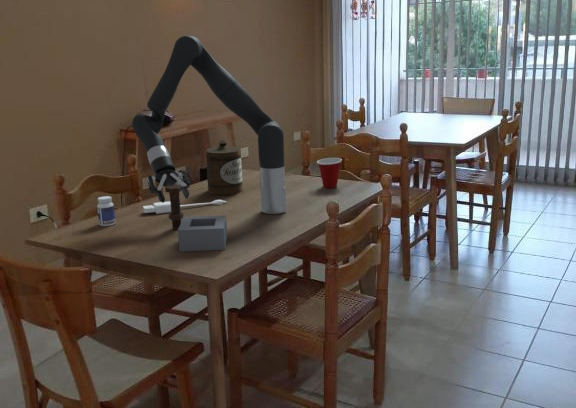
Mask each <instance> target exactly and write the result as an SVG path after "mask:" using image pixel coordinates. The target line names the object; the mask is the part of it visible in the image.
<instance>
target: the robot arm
mask: <svg viewBox="0 0 576 408" xmlns="http://www.w3.org/2000/svg"><path fill="white" fill-rule="evenodd" d="M190 66H191V67H192V68H193V69H194V70H195V71H196V72H197V73H198V74H200V75H201V77H202V78H203V79H204V81H205V82H206V84H207V86H208V87H209V88H210V90H211V91H212V92H213V94H214V95H215V97H216V98H218V100H219V101H221V103H222V104H223V105H224V106H225V107H226V108H227V109H228V110H229V111H230V112H232V113H233V114H235V115H236V116H238V118H240V119H242V120H243V121H244V122H245V123H246V124H248V126H249V127H251V129H252V130H253V131H254V133H255V134H256V135H257V147H258V149H257V151H258V161H259V162H258V164H259V182H260V183H259V184H260V185H259V186H260V187H259V188H260V190H259V191H260V208H261V209H260V210H261V213H264V214H267V215H277V214H281V213H286V212H287V204H286V203H287V202H286V201H287V200H286V179H285V178H286V175H285V149H284V148H285V147H284V145H285V141H284V134H285V133H284V130H283V128H282V126H281V125H280V124H279V123H278V122H277V121H275V120H274V119H272V117H271V116H269V115H268V114H267V113H266V112H265V111H264V110H263V109H262V108H261V107H260V106H259V105H258V104H257V102H256V100H255V99H254V98H253V97H252V95H251V94H250V93H248V91H247V90H246V89H245V88H244V86H242V85H241V83H240V82H239V81H238V80H237V79H236V78H235V77H234V76H233V75H232V74H231V73H230V72H228V70H227V69H225V68H224V67H222V66H221V65H220V64H219V62H218V61H216V60H215V59H214V58H213V56H212V55H211V54H210V52H209V51H208V50H207V49H206V47H205V46H204V45H203V43H202V42H201V41H200V40H199V39H198V38H197V37H196V36H193V35H182V36H180V37H178V39H177V40H176V41H175V43H174V46H173V49H172V51H171V55H170V58H169V61H168V62H167V65H166V67H165V70H164V72H163V74H162V75H161V77H160V79H159V81H158V82H157V84H156V86H155V88H154V90H153V91H152V92H151V93H152V94H150V95H151V96H149V99H148V101H147V105H146V106H147V108H148V109H149V110H150V111H151V115H147V114H144V113H137V114H136V115H135V116H134V117H133V118H132V120H131V121H132V122H131V127H132V129H133V132H134V134H135V136H136V137H137V139H138V140H139V141H140V143H142V145H143V146H144V149H145V152H146V154H147V160H148V163H149V165H150V167H151V170H152V172H153V175H154V176H152V175H148V176H147V178H146V183H147V186H148V189H149V192H150V193H151V194H156V196H157V198H158V201H159V202H162V203H164V202H166V198H165V195H164V193H163V190H162V189H163V187H164V188H166V187H167V186H170V185H180V186H182V189H183V190H182V191H181V192H182V194H183V196H184V199H185V200H186V199H187V200H188V199H189V196H190V192H189V190H188V189H189V188H190V185H191V183H192V182H191V180H190V178H189V176H188V174H187V172H186V170H182V171H180V172H178V171H177V170H176V168H175V165H174V163H173V159H172V158H171V155H170V153H169V151H168V149H167V147H166V144H165V142H164V139H163V137H162V136H161V135H160V134H159V133H160V132H161V130H162V127H163V124H164V119H165V115H166V111H167V110H168V107H170V104H171V102H172V100H174V96H175V94H176V93H177V89H178V87H179V84H180V82H181V80H182V78H183V76H184V75H185V72H186V71H187V70H188V69H189V68H190ZM155 182H156V183H158V184H159V185H158V186H157V187H156V186H155Z"/></svg>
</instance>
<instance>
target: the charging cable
mask: <svg viewBox="0 0 576 408" xmlns="http://www.w3.org/2000/svg"><path fill="white" fill-rule="evenodd" d="M225 203H227V201H226V200H222V199H215V200H213V201H211V202H201V203H190V204H189V203H188V204H180V208H182V207H191V206H195V207H196V206H205V205H216V206H219V205H224V204H225ZM142 211H143V213H145V214H148V213H155V214H156V215H158V214H166V213H167V214H168V213H171V205H170V201H165V202H164V203H162V202H161V201H159V202H153V205H151V204H150V205H143V206H142Z"/></svg>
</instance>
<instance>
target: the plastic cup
mask: <svg viewBox="0 0 576 408" xmlns="http://www.w3.org/2000/svg"><path fill="white" fill-rule="evenodd" d="M342 161H343V159H342V158H339V157H327V158H321V159H319V160H317V161H316V164H317V165H318V167H319V173H320V177H321V181H322V186H323V188H325V189H335V188H337V187H338V180H339V176H340V169H341V164H342Z"/></svg>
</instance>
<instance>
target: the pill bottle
mask: <svg viewBox="0 0 576 408" xmlns="http://www.w3.org/2000/svg"><path fill="white" fill-rule="evenodd" d="M112 200H113V199H112V196H108V195H107V196H99V197H98V198H97V202H98V203H97V205H96V207H97V208H96V209H97V216H98V217H97V218H98V224H99V226H101V227H110V226H113V225H115V224H116V223H117V221H116V212H115V205H114V203H113V201H112Z"/></svg>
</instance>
